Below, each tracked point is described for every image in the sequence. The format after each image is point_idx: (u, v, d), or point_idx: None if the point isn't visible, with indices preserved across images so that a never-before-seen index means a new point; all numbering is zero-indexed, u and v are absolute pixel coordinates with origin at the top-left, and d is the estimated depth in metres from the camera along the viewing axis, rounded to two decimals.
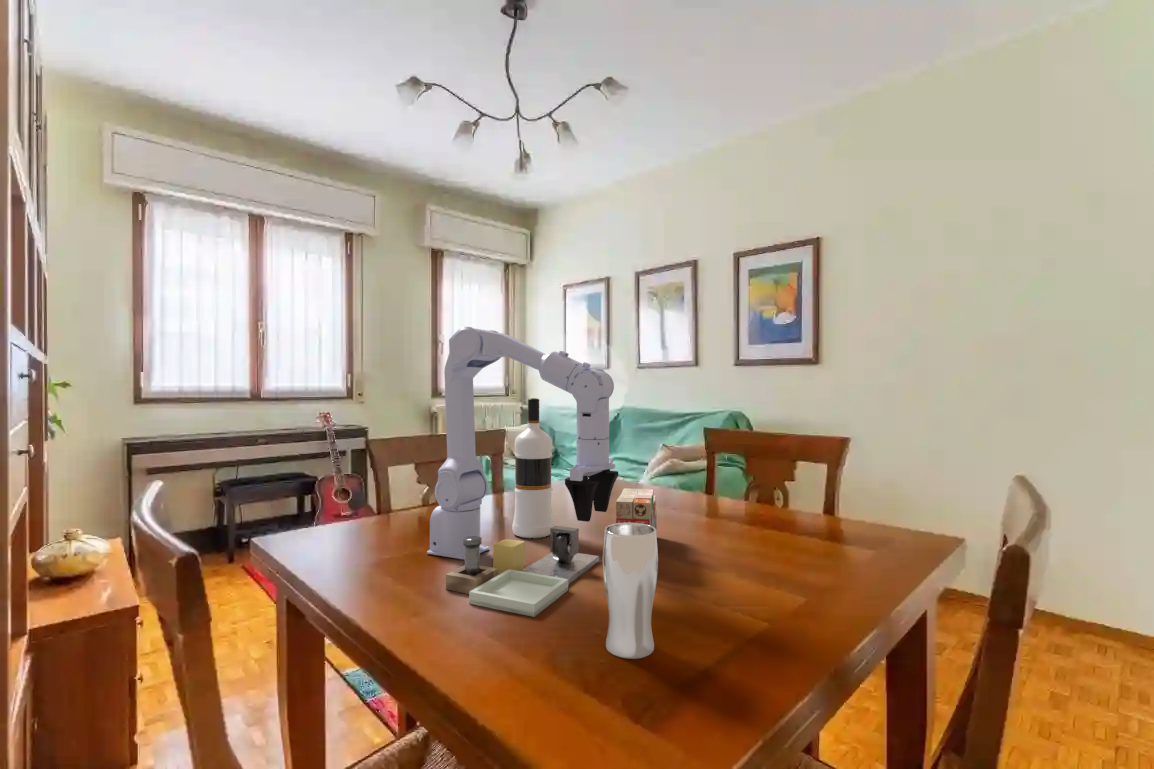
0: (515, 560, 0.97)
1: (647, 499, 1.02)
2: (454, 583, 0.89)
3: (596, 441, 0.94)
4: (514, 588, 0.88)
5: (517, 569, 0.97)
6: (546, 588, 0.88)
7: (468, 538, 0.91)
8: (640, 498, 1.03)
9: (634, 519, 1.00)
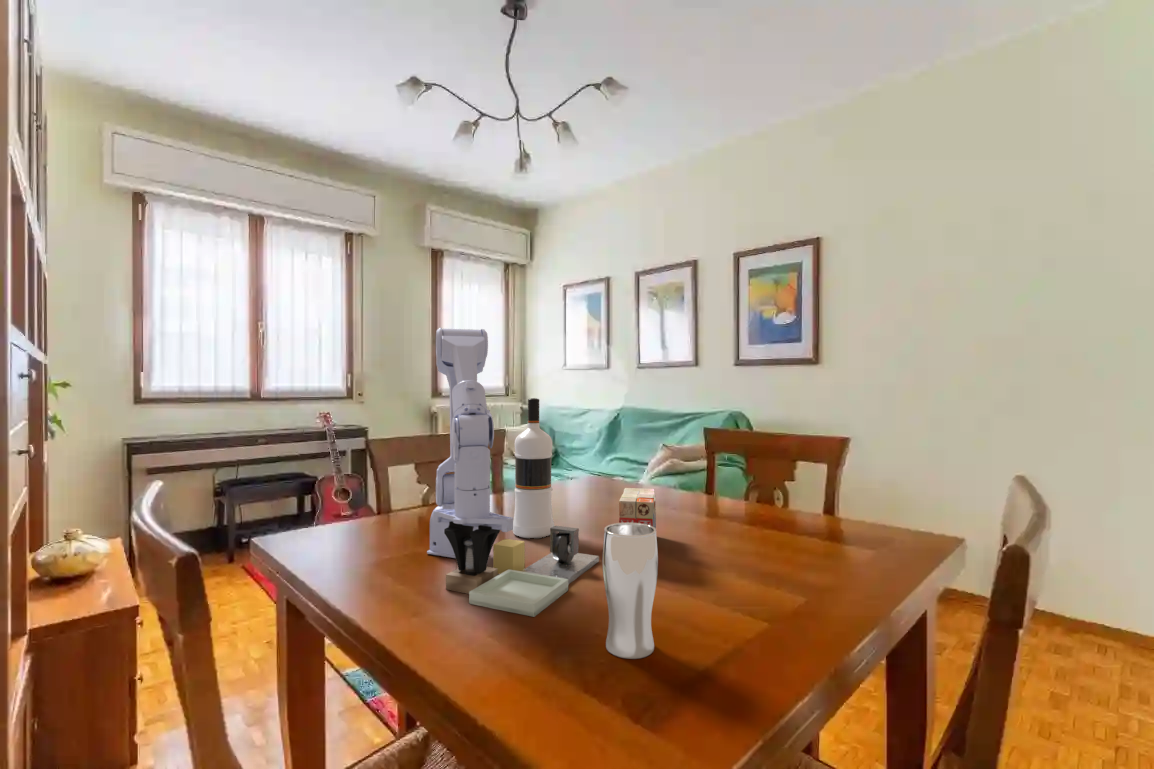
0: (515, 560, 0.97)
1: (650, 498, 1.03)
2: (454, 583, 0.89)
3: (454, 489, 0.90)
4: (514, 588, 0.88)
5: (517, 569, 0.97)
6: (546, 588, 0.88)
7: (468, 538, 0.91)
8: (643, 497, 1.03)
9: (637, 518, 1.00)
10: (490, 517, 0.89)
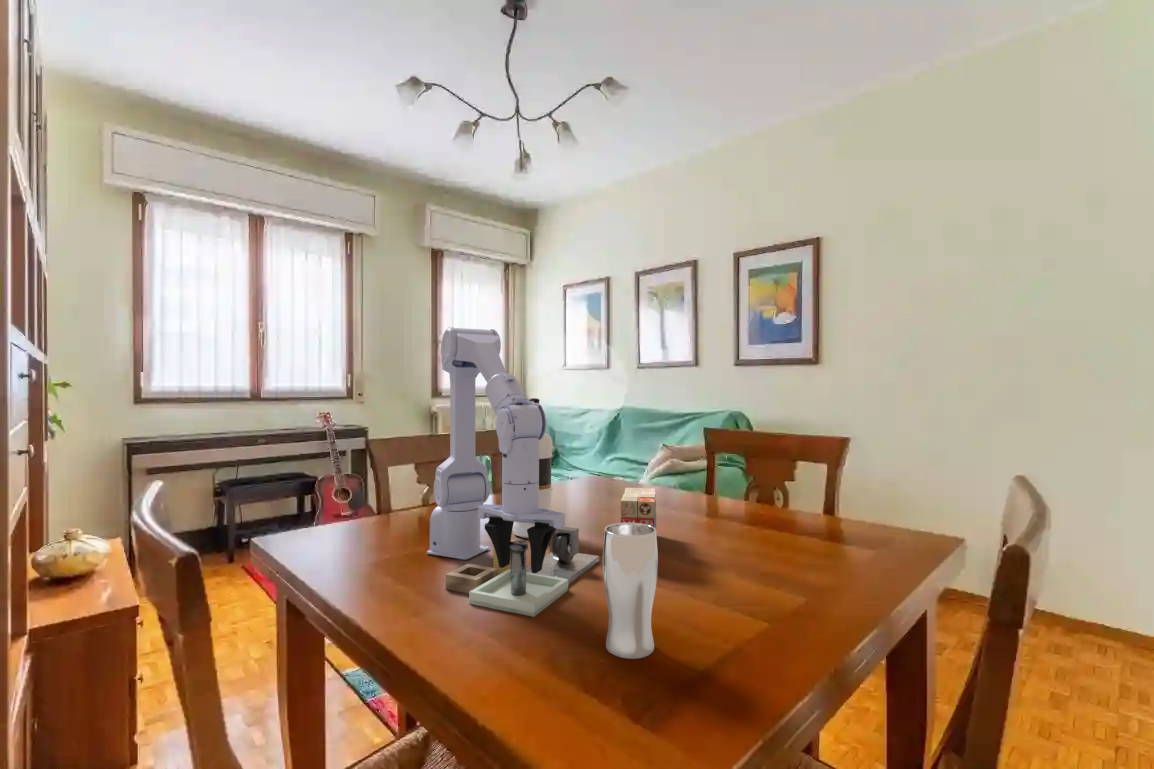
0: None
1: (651, 498, 1.03)
2: (454, 583, 0.89)
3: (502, 483, 0.86)
4: None
5: None
6: (546, 588, 0.88)
7: (514, 542, 0.86)
8: (644, 497, 1.04)
9: (638, 518, 1.01)
10: (540, 513, 0.85)
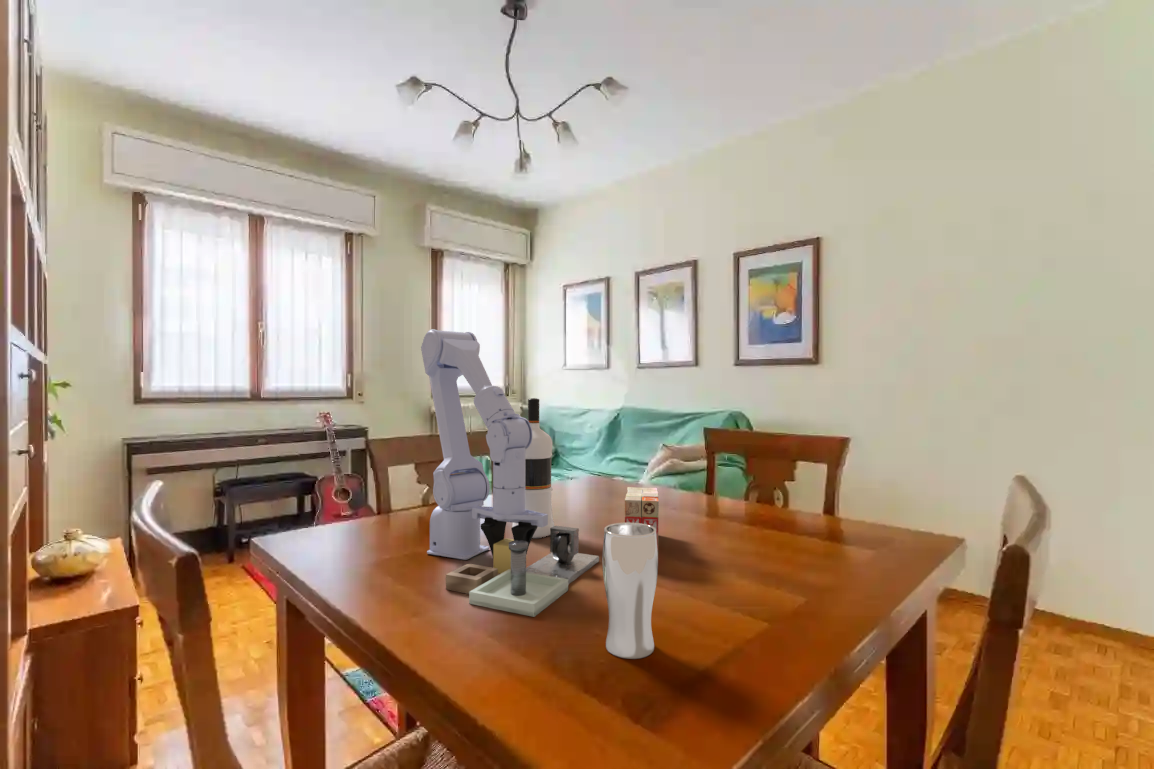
0: None
1: (654, 497, 1.04)
2: (454, 583, 0.89)
3: (493, 488, 0.98)
4: None
5: None
6: (546, 588, 0.88)
7: (514, 542, 0.86)
8: (647, 496, 1.04)
9: (642, 517, 1.01)
10: (526, 513, 0.97)
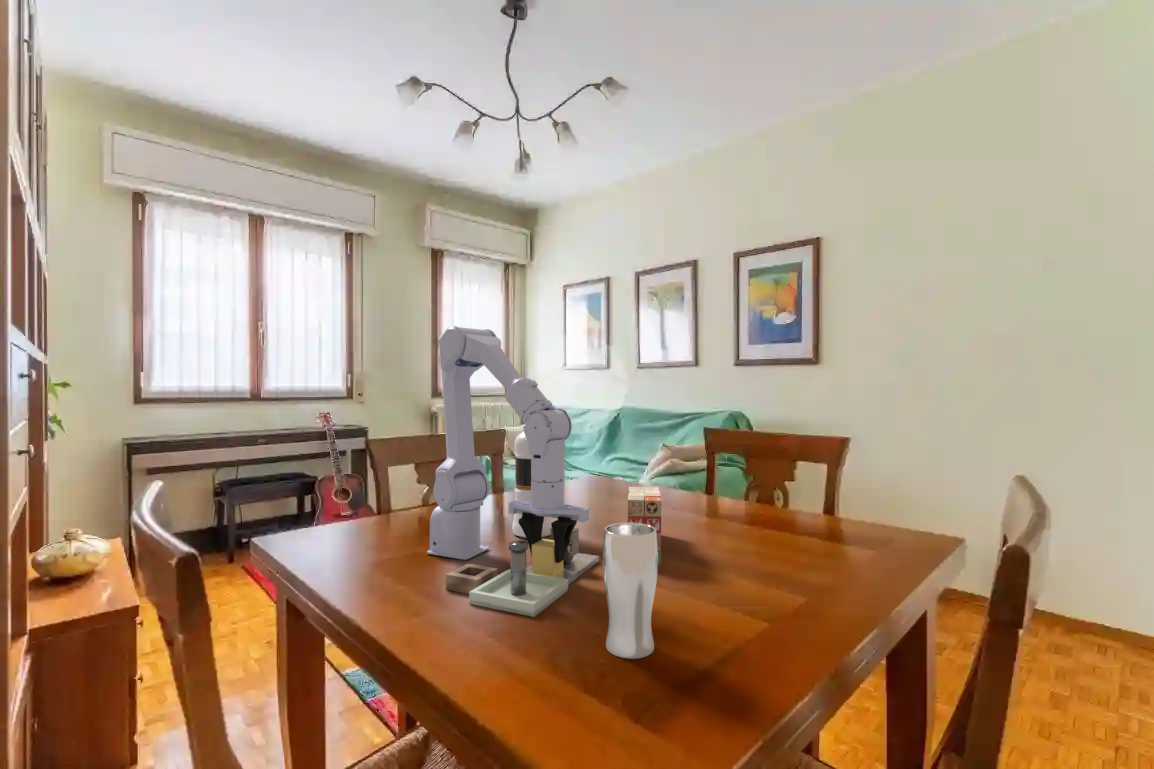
0: (554, 561, 0.93)
1: (657, 497, 1.04)
2: (454, 583, 0.89)
3: (531, 481, 0.94)
4: None
5: (557, 570, 0.93)
6: (546, 588, 0.88)
7: (514, 542, 0.86)
8: (650, 496, 1.05)
9: (645, 516, 1.02)
10: (566, 508, 0.93)
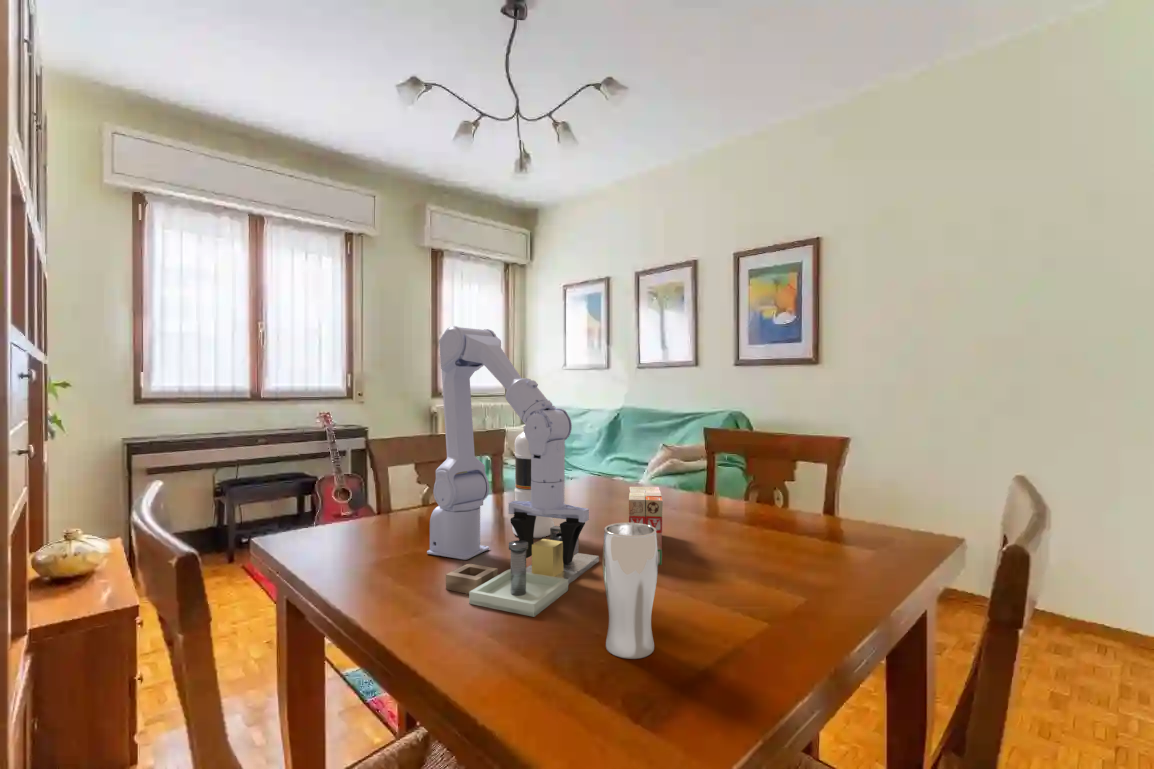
0: (554, 561, 0.93)
1: (658, 497, 1.04)
2: (454, 583, 0.89)
3: (531, 482, 0.94)
4: None
5: (557, 570, 0.93)
6: (546, 588, 0.88)
7: (514, 542, 0.86)
8: (651, 496, 1.05)
9: (646, 516, 1.02)
10: (566, 508, 0.93)
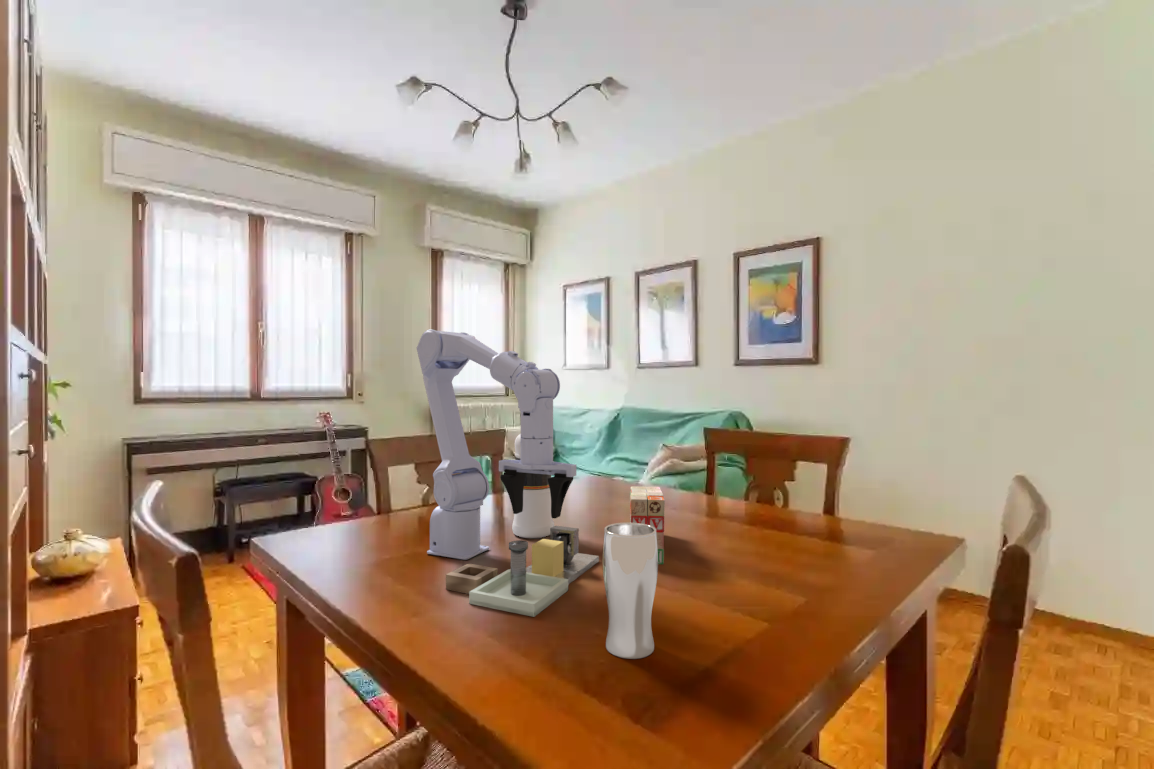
0: (554, 561, 0.93)
1: (659, 496, 1.05)
2: (454, 583, 0.89)
3: None
4: None
5: (557, 570, 0.93)
6: (546, 588, 0.88)
7: (514, 542, 0.86)
8: (652, 495, 1.05)
9: (648, 516, 1.02)
10: (554, 464, 0.96)
